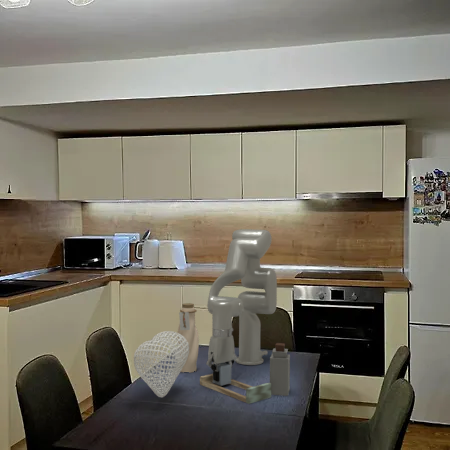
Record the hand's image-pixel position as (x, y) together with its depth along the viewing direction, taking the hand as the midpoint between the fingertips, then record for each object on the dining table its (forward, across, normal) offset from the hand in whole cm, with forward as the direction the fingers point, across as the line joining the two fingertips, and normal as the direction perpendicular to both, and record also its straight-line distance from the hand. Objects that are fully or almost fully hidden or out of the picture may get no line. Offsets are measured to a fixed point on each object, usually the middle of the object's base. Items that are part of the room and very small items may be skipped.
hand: (221, 378), depth 213 cm
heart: (+2, +26, -3) cm, 26 cm away
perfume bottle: (+3, -11, +20) cm, 23 cm away
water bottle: (+3, -1, -24) cm, 24 cm away
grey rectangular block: (+2, 0, 0) cm, 2 cm away
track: (+2, +1, +8) cm, 8 cm away
